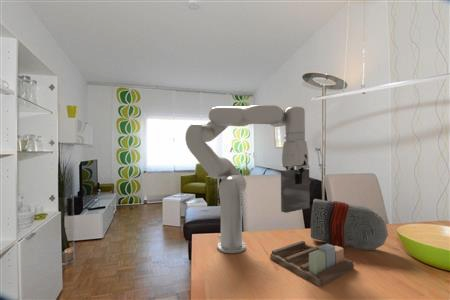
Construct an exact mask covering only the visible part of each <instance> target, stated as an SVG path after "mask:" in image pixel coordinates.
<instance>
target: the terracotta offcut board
mask: <svg viewBox="0 0 450 300" xmlns="http://www.w3.org/2000/svg"><path fill="white" fill-rule="evenodd" d="M344 253H345V249H344V247H339V246H335V265H337V264H340V263H342V262H344V259H345V254H344Z"/></svg>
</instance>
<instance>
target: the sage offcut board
mask: <svg viewBox="0 0 450 300" xmlns="http://www.w3.org/2000/svg"><path fill="white" fill-rule="evenodd" d="M308 262H309V272H310V273H312V274H314V275H316V276H317V274H318V273H320V272H323V271H325V270H326V261H325V253H324V252H322V251H319V250H316V251H313V252H311V253H309V259H308Z"/></svg>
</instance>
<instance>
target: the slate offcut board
mask: <svg viewBox="0 0 450 300" xmlns="http://www.w3.org/2000/svg"><path fill="white" fill-rule="evenodd" d="M318 247H319V251H322V252H324V253H325V261H326V270H327V269H329V268H331V267H333V266H335V246H333V245H331V243H324V244H322V245H319V246H318Z"/></svg>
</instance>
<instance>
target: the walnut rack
mask: <svg viewBox="0 0 450 300" xmlns="http://www.w3.org/2000/svg"><path fill="white" fill-rule="evenodd" d="M316 250H319V246H313V245H310V244H308V243H306V241H305V240H301V241H298V242H294V243H292V244H289V245H285V246H282V247H279V248H276V249H273V250H271V253H270V255H269V256H270V257H269V258H270V260H272V261H274V262H275V263H277V264H278V265H281V266H282V267H284V268H286V269H288V270H289V271H291V272H293V273H294V274H296V275H299V276H300V277H302V278H304V279H305V280H307V281H308V282H311V283H313V284H314V285H316V286H317V287H322V286H323V285H326V284H328V283H329V282H331V281H333V280H335V279H337V278H339V277H341V276H342V275H345V274H347V273H349V272H351V271H352V270H354V269H355V263H354V262H353V261H354V260H351V259H345V258H344V262H342V263H340V264H337V265H335V266H333V267H331V268H329V269H327V270H325V271H323V272H320V273H318V274H317V276H316V275H314V274H312V273H310V272H309V253H311V252H313V251H316ZM291 254H292V255H291ZM306 261H308V262H306ZM302 262H303V263H304V262H306V263H304V264H300V263H302ZM298 264H300V266H299V265H298Z"/></svg>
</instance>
